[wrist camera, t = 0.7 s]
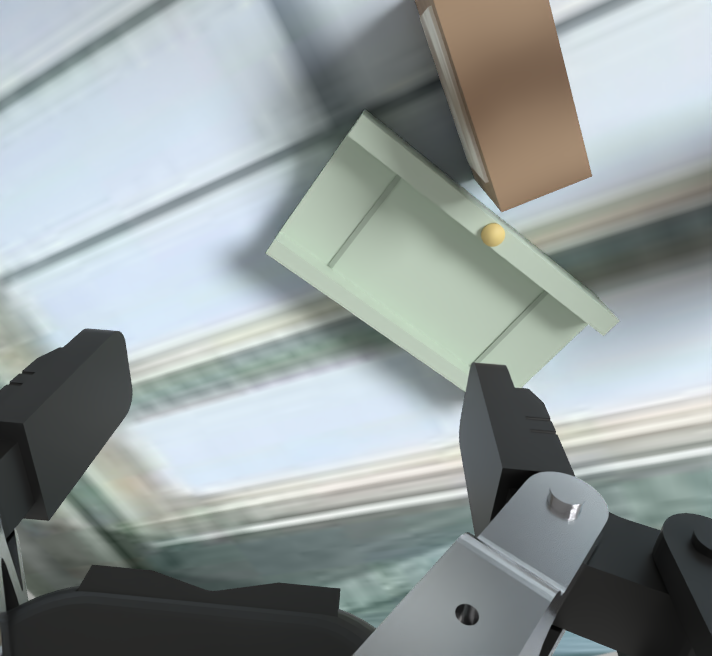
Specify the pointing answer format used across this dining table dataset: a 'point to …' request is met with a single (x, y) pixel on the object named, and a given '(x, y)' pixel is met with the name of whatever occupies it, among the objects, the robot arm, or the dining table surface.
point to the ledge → (431, 262)
